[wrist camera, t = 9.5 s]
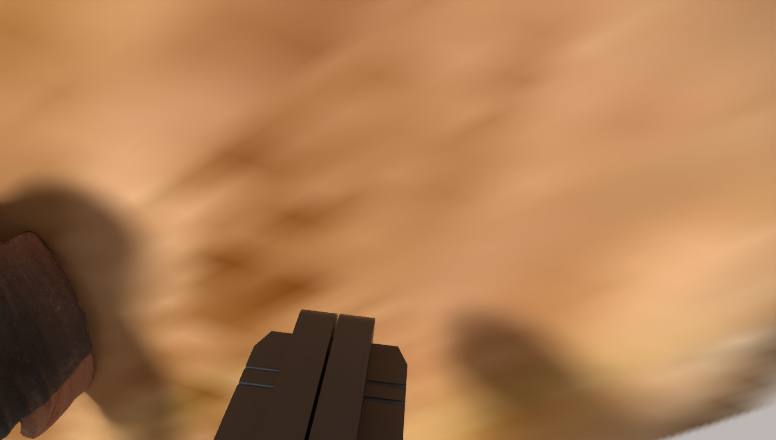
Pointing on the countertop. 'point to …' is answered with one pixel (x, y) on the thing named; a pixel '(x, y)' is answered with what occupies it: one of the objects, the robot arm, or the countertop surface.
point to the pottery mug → (38, 339)
